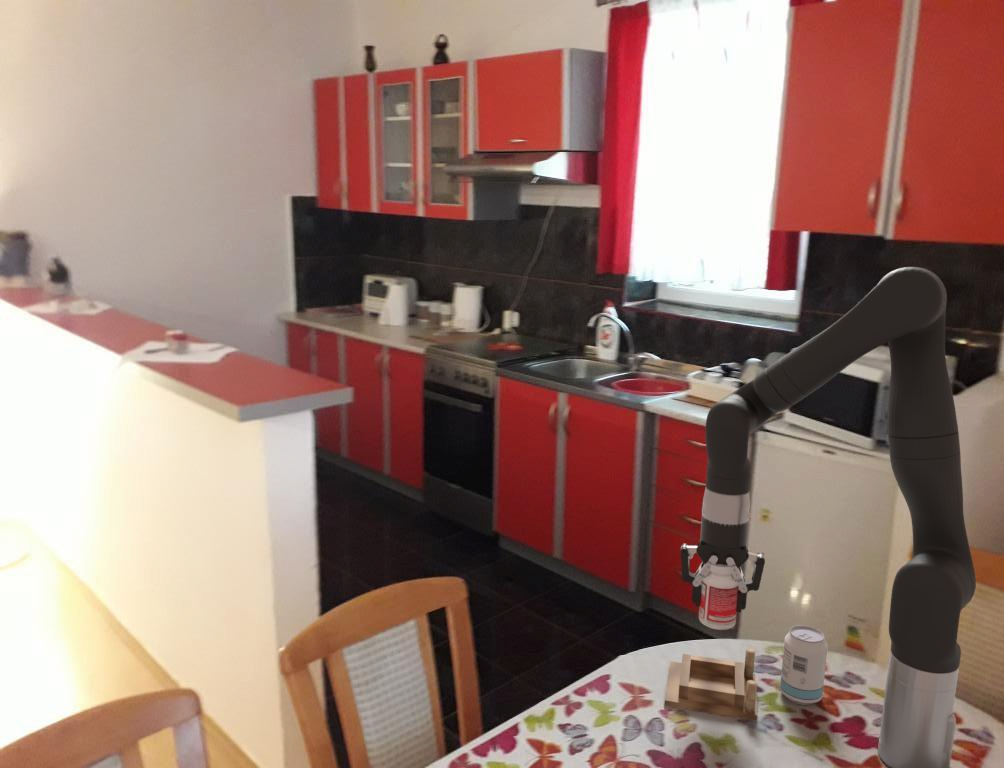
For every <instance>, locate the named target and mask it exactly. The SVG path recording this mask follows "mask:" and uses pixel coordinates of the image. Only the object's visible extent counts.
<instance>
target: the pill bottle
mask: <svg viewBox="0 0 1004 768" xmlns="http://www.w3.org/2000/svg"><path fill="white" fill-rule="evenodd" d="M738 591H739V587H738V582H736V581H735V579H734V577H733V575H732V567H729V566H728V565H725V564H717V563H715V565H711V570H710V572H709V573H708V575H707V576H706V577H705V578H703V581H702V582H701V594H700V607H698V608H699V609H698V620H699V622H700V623H701V624H703V625H704V626H705V627H708V628H709V629H713V630H717V631H718V630H719V631H721V630H723V631H725V630H729V629H732V628H734V626H735V625H736V623H737V613H738V612H737V602H738Z"/></svg>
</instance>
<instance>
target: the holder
mask: <svg viewBox="0 0 1004 768" xmlns="http://www.w3.org/2000/svg"><path fill="white" fill-rule="evenodd" d="M755 659H756V650H755V649H753V648H746V649H745V657H744V662H739V661H734V660H727V659H726V660H725V659H721V658H713V657H706V656H700V655H693V654H686V653H682V656H681V662H680V661H679V662H678V661H674V660H673V661H672V660H670V661H669V667H668V674H667V681H666V687H665V688H666V689H665V696H664V702H663V703H664V706H665V707H669V708H670V707H671V708H675V709H676V708H677V709H683V710H689V711H695V712H701V713H708V714H713V715H718V716H724V717H731V718H737V719H742V720H749V721H755V722H758V703H757V702H758V701H757V700H758V699H757V689H758V682H757V681H756V674H755V672H754V671H755Z"/></svg>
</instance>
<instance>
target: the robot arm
mask: <svg viewBox="0 0 1004 768" xmlns="http://www.w3.org/2000/svg"><path fill="white" fill-rule="evenodd" d="M947 301H948V295H947V289H946V287H945V284H944V282H943V281H942V279H940V277H939V276H938V275H937V274H935V273H934V272H932V271H931V270H928V269H927V268H924V267H917V266H906V267H899V268H897V269H894V270H892V271H889V272H888V273H887V274H885V275H884V276H883V277H882V278H881V279H880V280H879V282H878V283H877V284H876V285H875V286H874V287H873V288H872V289H871V290H870V291H869V292H868V293H867V294H865V296H864V297H863V298H862V299H860V301H858V302H857V304H856V305H855V306H853V307H852V308H851V309H850V310H849V311H848V312H846V313H845V314H844V315H843V316H842V317H840V318H839V319H838V320H836V321H835V322H833V323H832V324H831V325H830V326H829V327H826V329H824V330H822V331H821V332H820V333H818V334H817V335H815V336H813V337H812V338H810V339H809V340H806V342H804V343H803V344H801V345H799V346H798V347H796V348H794V349H793V350H791V351H790V352H788V353H786V355H784V356H782V357H781V358H779V359H778V360H777V361H775V362H773V363H772V364H770V366H767V367H766V368H765V369H764V370H763V371H761V372H760V373H759V374H758V375H756V377H755V378H754V379H752V380H751V381H749V382H747V383H746V384H744V385H742V386H741V387H739V388H737V389H736V390H734V391H733V392H732V393H729V394H728V395H727V396H725V397H723V398H722V399H720V400H719V401H717V402H716V403H714V405H713V406H711V407H710V409H709V411H708V413H707V416H706V420H705V421H706V422H705V430H704V432H705V447H706V448H705V449H706V456H707V466H706V477H705V488H704V494H703V499H702V507H701V520H700V522H701V523H700V537H699V538H700V539H699V542H698V543H697V544H696V545H688V544H687V543H685V542H684V543H682V544H681V546H680V552H679V553H680V565H681V566H680V567H681V569H680V570H681V581H683V582H684V583H690V584H691V585H692V591H691V602H692V603H693V604H695V607H696V608H697V607H698V608H699V607H700V594H701V582H702V581H703V578H705V577H706V576H707V575H708V573H709V572H710V570H711V565H715V563H717V564H725V565H728V566H729V567H732V575H733V577H734V579H735V581H736V582H738V587H739V591H738V602H737V613H742V610H745V609H746V608H747V607H746V606H747V597H748V593H749V592H751V591H755V592H756V591H758V590H759V589H760V585H761V581H762V576H763V572H764V567H765V563H766V559H765V558H766V557H765V553H764V552H757V553H755V552H751V551H749V550H748V547H747V543H748V542H747V541H748V532H749V531H748V530H749V520H750V515H751V514H750V508H751V506H750V505H751V501H750V500H751V499H750V489H751V479H752V478H751V477H752V463H751V460H750V458H749V457H748V453H749V451H748V449H749V439H750V434H751V433H752V432H753V431H755V430H756V429H757V428H759V427H760V426H761V425H762V424H764V423H765V422H767V421H768V420H769V419H771V418H772V417H774V416H775V415H776V414H778V413H781V412H784V411H786V410H788V409H789V408H792V407H793V406H794V405H796V404H798V403H799V402H801V401H802V400H804V399H805V398H806V397H808V396H809V395H811V394H813V393H815V391H817V390H819V389H820V388H822V387H823V386H824V385H826V384H827V383H828V382H829V381H830V380H832V379H834V378H835V377H836V376H837V375H838V374H840V373H841V372H842V371H843V370H845V369H846V368H847V367H849V366H850V365H852V364H853V363H855V362H856V361H857V360H859V359H860V358H862V357H863V356H865V355H866V354H868V353H870V352H872V351H873V350H876V349H877V348H879V347H880V346H883V345H884V344H887V343H888V350H889V358H890V378H889V388H888V399H887V400H888V401H887V421H886V423H887V438H888V451H889V457H890V458H889V459H890V464H891V465H890V466H891V470H892V472H893V476H894V479H895V481H896V483H897V485H898V488H899V489H900V492H901V494H902V496H903V498H904V500H905V503H906V505H907V508H908V510H909V514H910V519H911V526H912V527H911V529H912V557H911V559H910V560H909V561H908V562H906V563H905V564H903V566H901V567H900V568H899V569H898V571H897V572H896V574H895V577H894V580H893V583H892V588H891V595H890V606H889V607H890V609H889V616H888V617H889V619H888V635H889V638H890V641H891V643H890V651H889V660H888V666H887V667H888V668H887V673H886V675H887V676H886V683H885V692H884V697H883V699H884V700H883V706H882V707H883V708H882V714H881V722H880V728H879V729H880V730H879V735H878V736H879V737H878V745H877V747H878V748H877V751H878V756H879V757H880V759H881V760H882V761H883V762H884V763H885V765H886V766H888V767H889V768H950V766H951V760H952V754H953V746H954V739H955V733H956V725H957V718H956V716H955V714H954V712H953V711H954V704H955V698H956V691H957V684H958V678H959V670H960V664H961V657H962V656H961V655H962V649H961V646H960V645H959V643H958V631H959V624H960V618H961V612H962V610H963V609H964V608H965V607H966V606H967V605H968V604H969V603H970V602H971V600H972V599H973V597H974V595H975V592H976V591H975V590H976V586H977V579H976V572H975V567H974V562H973V558H972V553H971V548H970V543H969V538H968V534H967V528H966V525H965V523H966V522H965V515H964V490H963V477H962V462H961V457H962V456H961V445H960V433H959V425H958V420H957V411H956V405H955V402H954V395H953V394H954V393H953V389H952V385H951V380H950V376H949V372H948V371H949V370H948V366H947V358H946V356H947V355H946V316H947V315H946V314H947V313H946V312H947V304H948V303H947ZM694 554H697V555H698V557H699V559H700V561H701V563H700V564H699V566H698V569H697V570H696V572H694V573H693V572H691V569H690V560H691V559H693V557H694ZM747 560H749V561H750V565H751V567H753V571H752V575H751V579H749V580H746V577H745V575H744V573H743V570H742V566H743V565H744V564H745V563H746V562H747Z"/></svg>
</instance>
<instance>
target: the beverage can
mask: <svg viewBox="0 0 1004 768" xmlns="http://www.w3.org/2000/svg"><path fill="white" fill-rule="evenodd" d="M783 643H784V644H783V654H782V664H781V673H780V674H781V675H780V682H779V690H780V692H781V693H782V694H783V696H785V697H786V698H787V699H788V700H789V701H790V702H792V703H794V704H797V705H800V706H811V705H814V704H816V703H819V702H820V701H821V700H822V699H823V693H824V686H825V685H824V684H825V677H826V669H827V668H826V667H827V665H826V664H827V658H828V657H827V656H828V646H829V645H828V643H827V641H826V639H825V634H824V633H823V632H822V631H821V630H819V629H818V628H816V627H812V626H809V625H794V626H792V627H790V629H789V632H788V633H787V634H786V636H785V637H784V641H783Z"/></svg>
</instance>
